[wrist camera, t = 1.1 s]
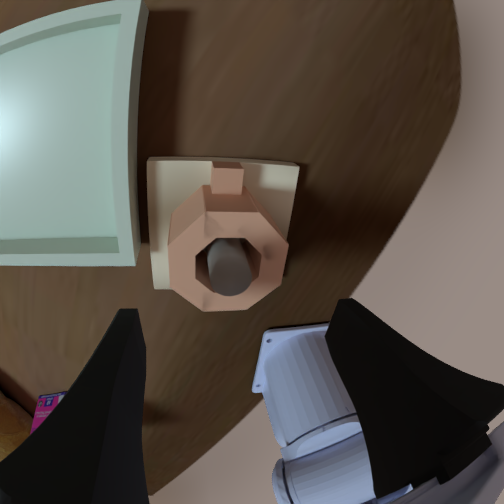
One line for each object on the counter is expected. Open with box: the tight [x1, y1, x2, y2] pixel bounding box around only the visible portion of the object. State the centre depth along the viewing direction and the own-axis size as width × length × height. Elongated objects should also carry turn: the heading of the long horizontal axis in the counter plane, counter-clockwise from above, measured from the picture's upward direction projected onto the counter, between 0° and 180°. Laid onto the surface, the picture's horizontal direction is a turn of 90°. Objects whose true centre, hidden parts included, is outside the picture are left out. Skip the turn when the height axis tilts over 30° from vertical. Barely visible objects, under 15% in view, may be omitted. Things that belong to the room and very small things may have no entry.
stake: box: [147, 157, 299, 296], centre depth 14 cm, size 8×8×6 cm
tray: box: [0, 0, 149, 266], centre depth 10 cm, size 14×14×2 cm
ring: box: [167, 161, 289, 312], centre depth 14 cm, size 7×5×4 cm
